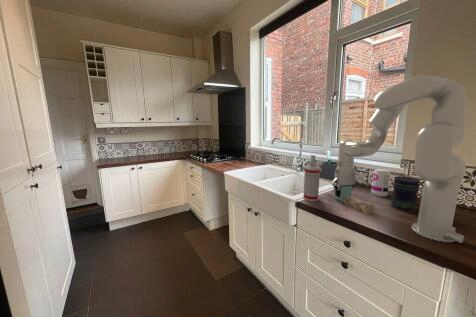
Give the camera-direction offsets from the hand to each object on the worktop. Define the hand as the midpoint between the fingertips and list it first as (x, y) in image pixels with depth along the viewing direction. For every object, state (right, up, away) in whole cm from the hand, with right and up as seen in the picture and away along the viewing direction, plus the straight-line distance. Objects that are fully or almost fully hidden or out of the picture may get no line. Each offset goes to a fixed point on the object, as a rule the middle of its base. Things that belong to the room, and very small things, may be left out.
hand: (342, 195), depth 114 cm
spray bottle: (-17, -3, +3) cm, 17 cm away
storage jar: (+25, -5, -10) cm, 27 cm away
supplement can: (+26, -1, +8) cm, 27 cm away
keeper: (0, -2, 0) cm, 2 cm away
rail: (+1, -4, -5) cm, 7 cm away
